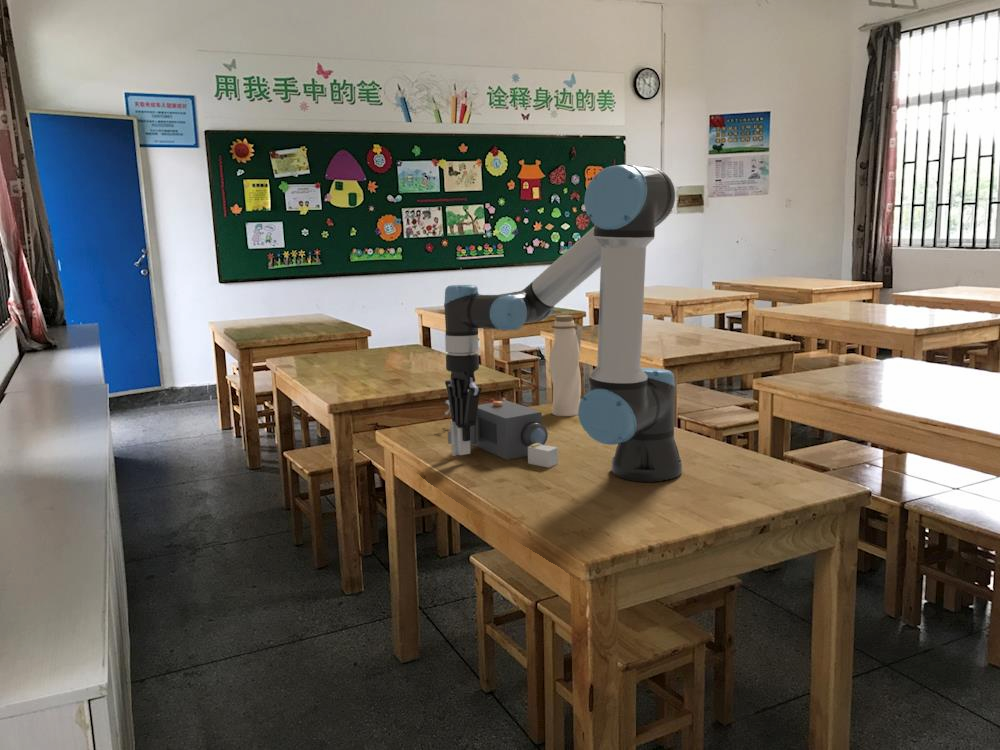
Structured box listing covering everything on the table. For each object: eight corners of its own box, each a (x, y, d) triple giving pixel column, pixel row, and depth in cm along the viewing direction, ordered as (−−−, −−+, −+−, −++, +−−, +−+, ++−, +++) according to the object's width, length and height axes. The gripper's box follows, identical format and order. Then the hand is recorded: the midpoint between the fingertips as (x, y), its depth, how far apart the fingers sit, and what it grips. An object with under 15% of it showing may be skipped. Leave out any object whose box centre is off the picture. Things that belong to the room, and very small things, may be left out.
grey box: (549, 455, 193) (548, 410, 191) (513, 462, 188) (511, 416, 186) (507, 438, 209) (506, 396, 207) (473, 444, 204) (471, 402, 202)
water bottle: (564, 407, 241) (562, 312, 236) (589, 410, 235) (588, 314, 230) (543, 414, 233) (541, 316, 228) (569, 418, 227) (568, 318, 222)
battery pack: (558, 464, 187) (557, 445, 186) (549, 468, 184) (548, 449, 183) (537, 460, 190) (536, 441, 189) (528, 463, 188) (527, 445, 187)
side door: (455, 455, 192) (454, 420, 190) (448, 455, 193) (446, 420, 191) (477, 442, 202) (476, 409, 200) (470, 442, 203) (469, 409, 201)
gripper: (490, 354, 182) (492, 457, 186) (462, 349, 193) (464, 446, 196) (461, 357, 178) (463, 462, 182) (434, 351, 189) (437, 450, 193)
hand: (464, 453), depth 189 cm, fingers closed
